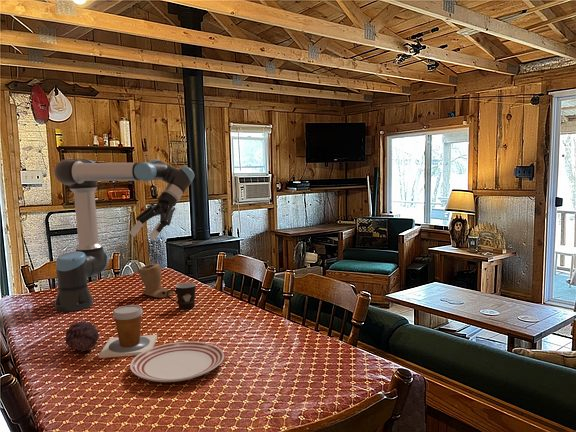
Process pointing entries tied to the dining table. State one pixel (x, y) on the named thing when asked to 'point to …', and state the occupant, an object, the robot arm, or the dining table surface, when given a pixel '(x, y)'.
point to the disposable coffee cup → (128, 324)
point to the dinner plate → (176, 361)
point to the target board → (116, 350)
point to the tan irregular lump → (153, 281)
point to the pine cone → (82, 336)
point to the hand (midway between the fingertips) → (141, 236)
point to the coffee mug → (185, 295)
